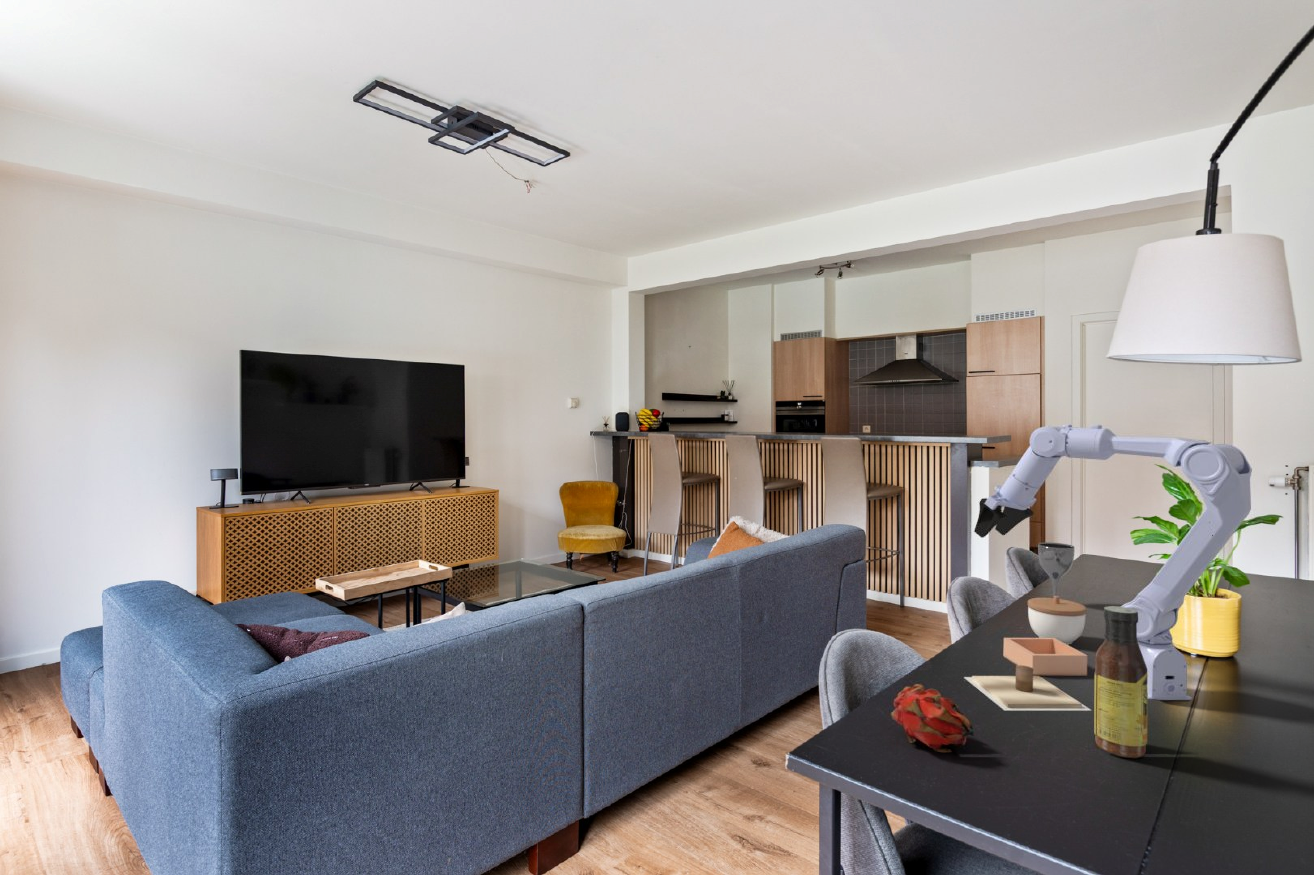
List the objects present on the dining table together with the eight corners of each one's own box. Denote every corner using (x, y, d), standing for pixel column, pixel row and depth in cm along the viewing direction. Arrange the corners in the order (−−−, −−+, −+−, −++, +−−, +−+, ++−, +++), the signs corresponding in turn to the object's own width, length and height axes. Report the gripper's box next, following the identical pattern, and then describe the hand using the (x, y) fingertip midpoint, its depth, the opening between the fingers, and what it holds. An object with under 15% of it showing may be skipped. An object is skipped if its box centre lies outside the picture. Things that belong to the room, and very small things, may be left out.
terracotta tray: (1086, 677, 125) (1087, 655, 125) (1032, 677, 125) (1032, 655, 124) (1053, 658, 135) (1054, 637, 135) (1003, 658, 135) (1003, 637, 134)
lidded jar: (1069, 633, 151) (1070, 590, 150) (1095, 649, 140) (1097, 604, 140) (1018, 631, 152) (1019, 589, 152) (1040, 647, 141) (1041, 602, 141)
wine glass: (1040, 606, 172) (1042, 547, 172) (1033, 598, 180) (1035, 541, 179) (1077, 609, 170) (1078, 549, 169) (1068, 601, 177) (1069, 543, 177)
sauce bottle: (1155, 762, 94) (1160, 617, 93) (1104, 758, 95) (1108, 614, 94) (1132, 740, 100) (1136, 605, 100) (1085, 736, 101) (1088, 602, 101)
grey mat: (1091, 712, 110) (1091, 710, 110) (1004, 712, 109) (1004, 710, 109) (1040, 679, 124) (1040, 677, 124) (963, 679, 123) (963, 677, 123)
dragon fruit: (891, 734, 105) (966, 778, 96) (869, 716, 100) (946, 760, 91) (916, 685, 107) (992, 723, 98) (895, 664, 102) (974, 702, 93)
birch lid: (1081, 707, 111) (1082, 681, 110) (1007, 707, 110) (1008, 681, 110) (1038, 679, 123) (1039, 655, 122) (971, 679, 122) (972, 655, 122)
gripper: (1028, 467, 143) (993, 519, 149) (988, 468, 135) (953, 522, 141) (1057, 488, 138) (1020, 540, 144) (1018, 490, 130) (980, 545, 136)
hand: (989, 533), depth 142 cm, fingers open, 7 cm apart
